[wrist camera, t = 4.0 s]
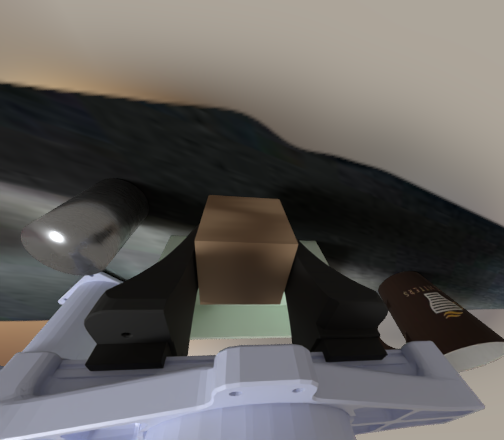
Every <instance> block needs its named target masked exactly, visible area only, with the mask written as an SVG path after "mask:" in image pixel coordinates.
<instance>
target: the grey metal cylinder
mask: <svg viewBox="0 0 504 440" xmlns="http://www.w3.org/2000/svg"><path fill="white" fill-rule="evenodd" d="M148 213H149V203H148V200H147V198H146V197H145V195H144V194H143V193H142V191H141V190H140V189H138V188H137V187H136V186H134V185H133V184H131V183H129V182H127V181H125V180H121V179H116V178H109V179H104V180H102V181H100V182H98V183H97V184H95V185H93V186H92V187H90V188H88V189H87V190H85V191H83V192H82V193H80V194H78V195H77V196H75V197H73V198H72V199H70V200H68V201H67V202H65V203H63V204H62V205H60V206H58V207H57V208H55V209H53V210H51V211H50V212H48V213H46V214H45V215H43V216H41V217H40V218H38V219H36V220H35V221H33V222H31V223H30V224H28V225H27V226H25V227H24V228H23V230H22V232H21V241H22V244H23V246H24V247H25V249H26V250H27V251H28V252H29V253H30V254H31V255H32V256H33V257H34V258H35V259H37V260H38V261H39V262H41V263H43V264H44V265H46V266H48V267H50V268H52V269H55V270H57V271H60V272H64V273H67V274H72V275H83V276H84V275H93V274H97V273H99V272H101V271H103V270H104V269H105V268H106V267H107V265H108V264H109V263H110V262H111V260H112V259H113V258H114V257H115V255H116V254H117V253H118V252H119V250H120V249H121V248H122V246H123V245H124V244H125V243H126V241H127V240H128V239H129V238H130V236H131V235H132V234H133V233H134V231H135V230H136V229H137V228H138V226H139V225H140V224H141V223H142V221H143V220H144V219H145V218H146V216H147V215H148Z"/></svg>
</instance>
